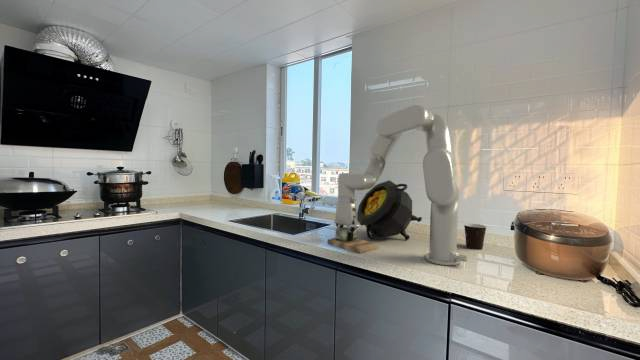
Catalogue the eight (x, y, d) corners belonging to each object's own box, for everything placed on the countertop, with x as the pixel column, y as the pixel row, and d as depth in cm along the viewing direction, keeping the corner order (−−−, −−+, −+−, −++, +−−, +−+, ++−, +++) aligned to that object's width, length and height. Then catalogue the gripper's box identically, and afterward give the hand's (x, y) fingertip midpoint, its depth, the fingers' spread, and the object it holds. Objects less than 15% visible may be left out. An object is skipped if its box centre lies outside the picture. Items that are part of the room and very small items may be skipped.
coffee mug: (467, 244, 133) (468, 222, 132) (488, 247, 127) (488, 225, 126) (458, 248, 125) (458, 226, 124) (479, 253, 118) (480, 229, 118)
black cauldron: (432, 235, 128) (398, 204, 120) (383, 258, 143) (350, 232, 135) (423, 195, 150) (394, 166, 142) (381, 218, 165) (353, 194, 156)
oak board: (378, 248, 124) (378, 243, 124) (360, 253, 116) (360, 248, 116) (345, 239, 139) (345, 235, 139) (327, 243, 131) (327, 239, 131)
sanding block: (357, 238, 132) (357, 228, 131) (343, 241, 126) (343, 230, 126) (349, 236, 135) (349, 226, 135) (335, 239, 130) (335, 228, 129)
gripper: (366, 201, 126) (365, 241, 126) (338, 198, 138) (338, 234, 139) (354, 202, 121) (354, 244, 121) (327, 199, 134) (327, 237, 134)
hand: (345, 239), depth 130 cm, fingers closed on sanding block, 5 cm apart
